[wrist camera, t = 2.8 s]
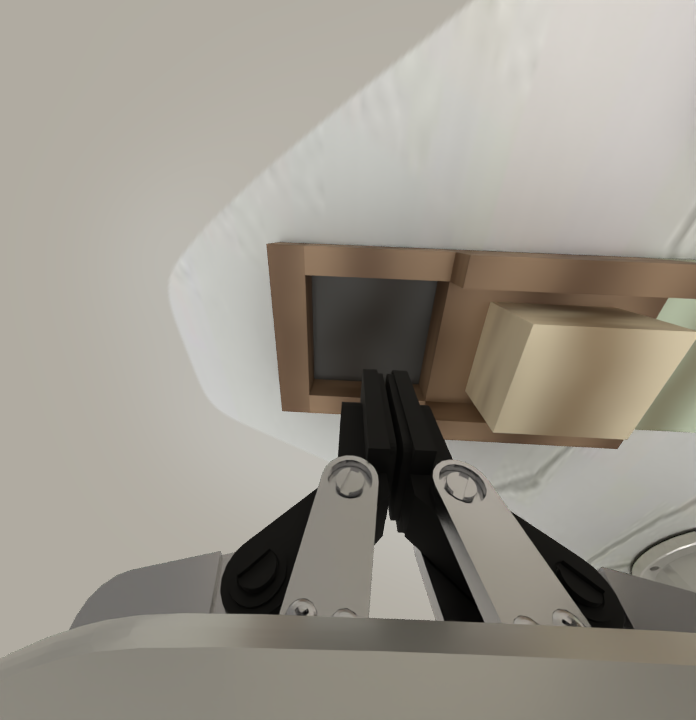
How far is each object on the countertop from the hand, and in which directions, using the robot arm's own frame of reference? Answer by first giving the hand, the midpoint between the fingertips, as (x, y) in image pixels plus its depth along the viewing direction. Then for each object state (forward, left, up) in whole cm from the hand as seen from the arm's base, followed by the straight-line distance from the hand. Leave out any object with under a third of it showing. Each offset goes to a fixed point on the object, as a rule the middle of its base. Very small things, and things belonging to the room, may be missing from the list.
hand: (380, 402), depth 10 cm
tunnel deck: (-10, 0, -9) cm, 13 cm away
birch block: (-10, 0, -7) cm, 12 cm away
